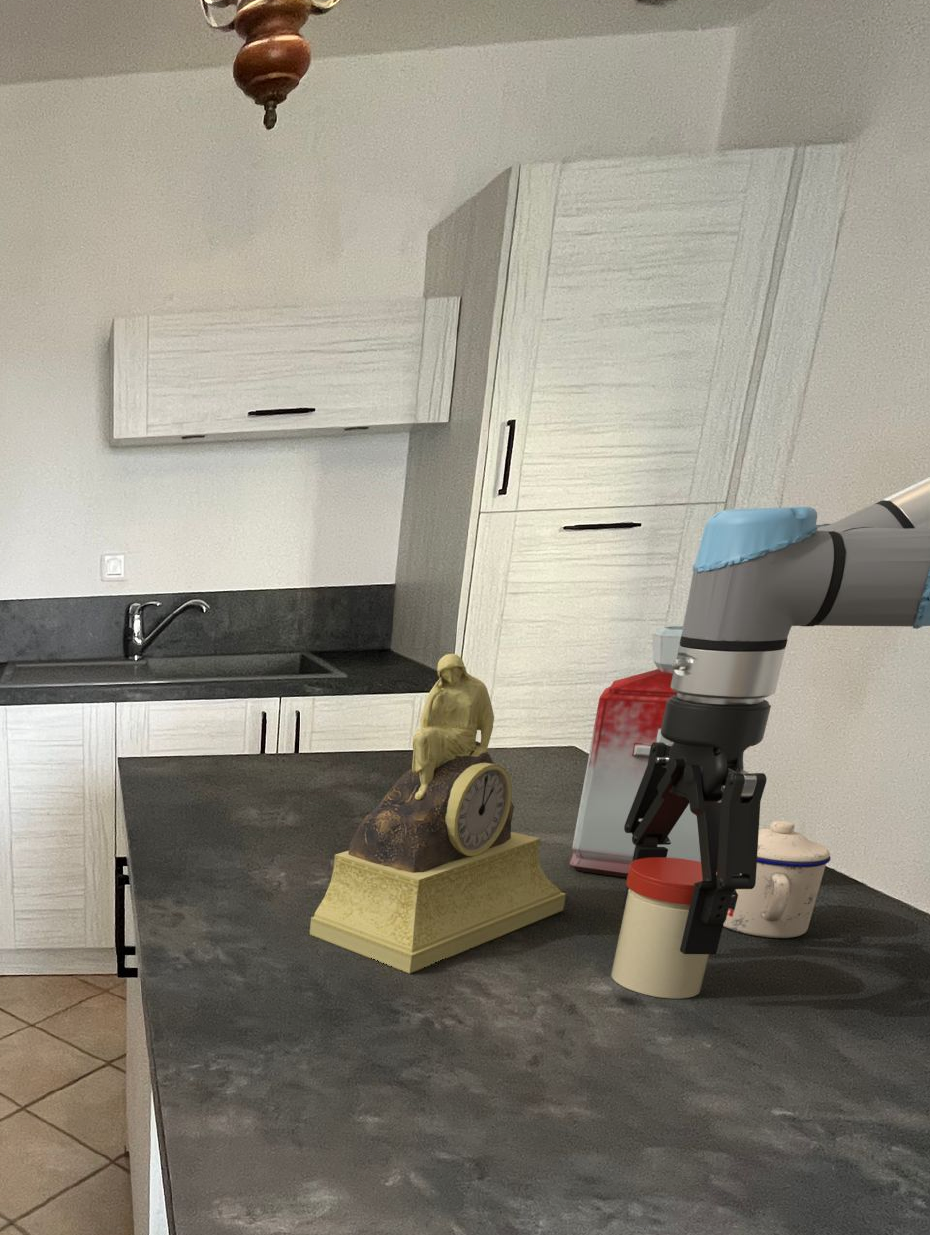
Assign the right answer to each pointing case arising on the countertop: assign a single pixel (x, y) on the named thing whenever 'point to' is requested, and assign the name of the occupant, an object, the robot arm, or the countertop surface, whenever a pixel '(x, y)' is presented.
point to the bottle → (627, 767)
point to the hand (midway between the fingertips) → (666, 929)
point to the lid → (664, 878)
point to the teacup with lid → (780, 885)
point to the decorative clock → (438, 847)
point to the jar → (656, 950)
